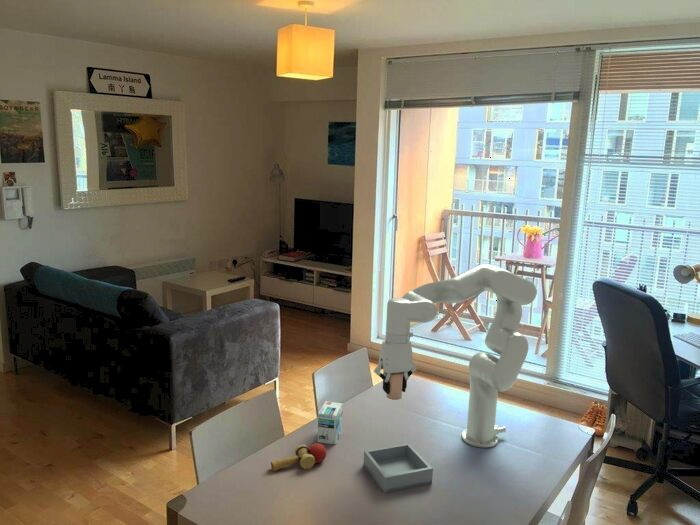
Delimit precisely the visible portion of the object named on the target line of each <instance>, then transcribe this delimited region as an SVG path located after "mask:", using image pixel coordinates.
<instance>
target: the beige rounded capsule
mask: <svg viewBox="0 0 700 525" xmlns="http://www.w3.org/2000/svg"><path fill="white" fill-rule="evenodd" d="M389 382H390V392H389V394H387V393H385V394H386V396H385V397H386V398H387V399H389V400H392V401H395V400H396V401H398V400H401V399H402V398H403V391H402V386H403V372H399V373H391V374H390V378H389Z"/></svg>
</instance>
